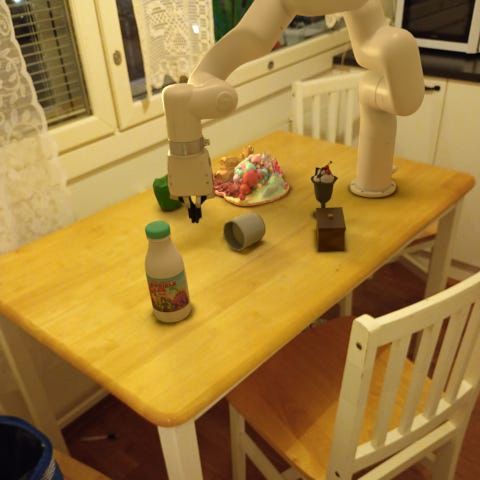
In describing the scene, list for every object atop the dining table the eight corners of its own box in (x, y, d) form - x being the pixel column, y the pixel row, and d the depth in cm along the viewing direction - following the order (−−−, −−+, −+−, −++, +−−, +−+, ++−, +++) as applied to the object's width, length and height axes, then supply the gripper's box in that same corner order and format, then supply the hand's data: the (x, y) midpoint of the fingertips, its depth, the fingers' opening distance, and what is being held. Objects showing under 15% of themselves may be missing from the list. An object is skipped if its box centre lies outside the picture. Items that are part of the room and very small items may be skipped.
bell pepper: (150, 211, 147) (144, 177, 141) (164, 198, 153) (159, 165, 147) (177, 214, 144) (171, 180, 138) (190, 201, 150) (185, 168, 144)
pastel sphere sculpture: (193, 188, 157) (190, 157, 152) (251, 164, 169) (249, 135, 163) (251, 212, 142) (249, 180, 136) (309, 184, 154) (309, 153, 148)
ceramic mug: (268, 241, 129) (267, 212, 124) (245, 255, 124) (243, 226, 120) (238, 229, 135) (235, 202, 131) (215, 242, 131) (211, 214, 126)
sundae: (335, 221, 135) (337, 164, 126) (309, 220, 136) (309, 164, 127) (336, 209, 140) (339, 154, 131) (311, 208, 141) (312, 154, 132)
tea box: (317, 251, 124) (318, 225, 120) (315, 230, 132) (316, 205, 128) (344, 251, 123) (346, 225, 119) (340, 229, 131) (342, 204, 127)
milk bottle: (155, 303, 112) (137, 218, 99) (191, 299, 112) (178, 214, 100) (153, 325, 106) (134, 238, 93) (191, 321, 106) (177, 233, 94)
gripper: (221, 138, 118) (228, 212, 129) (156, 140, 119) (168, 214, 130) (218, 150, 112) (225, 227, 123) (149, 152, 113) (162, 229, 124)
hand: (195, 220), depth 127 cm, fingers closed
